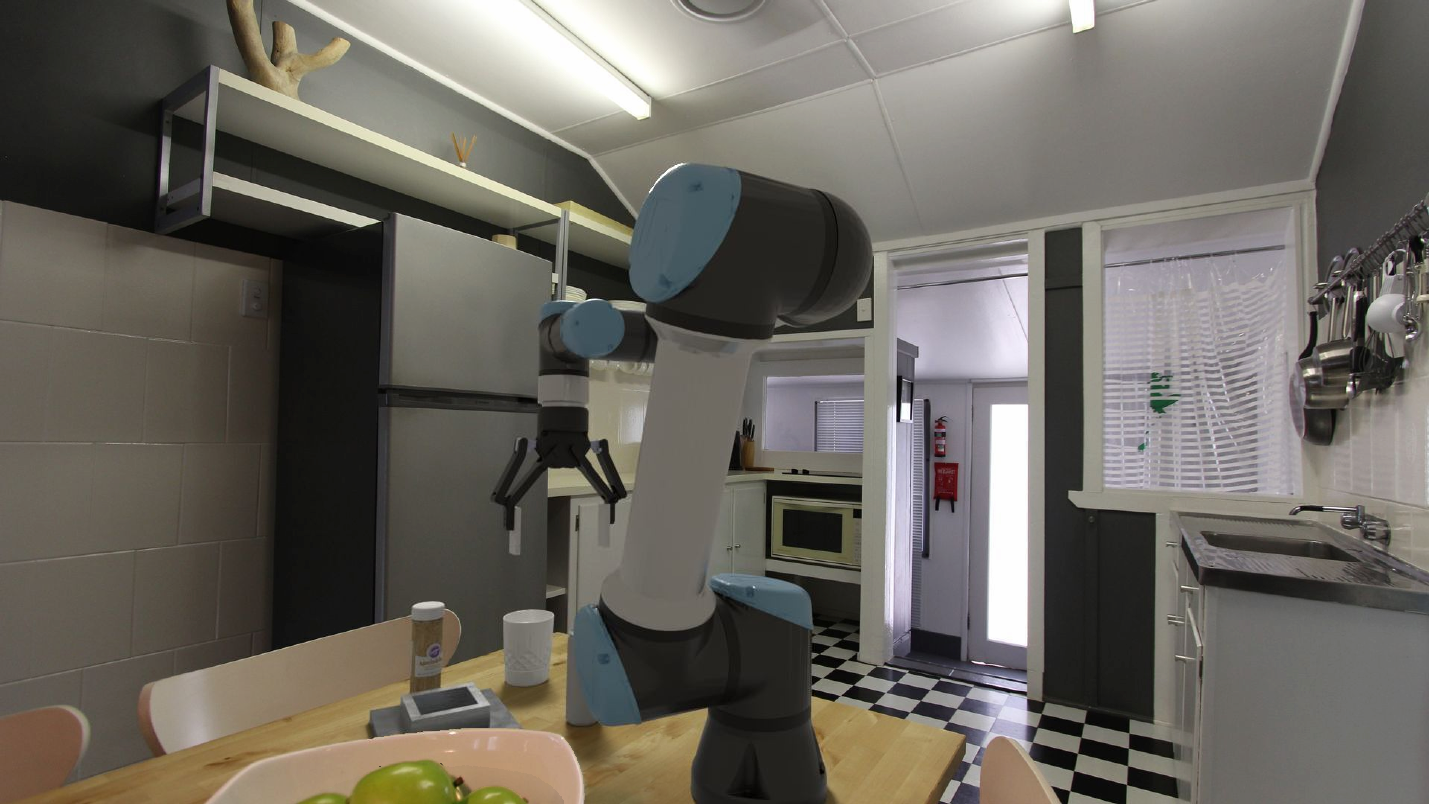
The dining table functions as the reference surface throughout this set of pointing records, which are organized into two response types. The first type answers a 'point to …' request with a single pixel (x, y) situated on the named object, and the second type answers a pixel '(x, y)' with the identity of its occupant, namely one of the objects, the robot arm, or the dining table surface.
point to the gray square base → (443, 711)
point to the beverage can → (575, 691)
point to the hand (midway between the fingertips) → (560, 550)
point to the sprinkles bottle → (426, 646)
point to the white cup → (527, 646)
